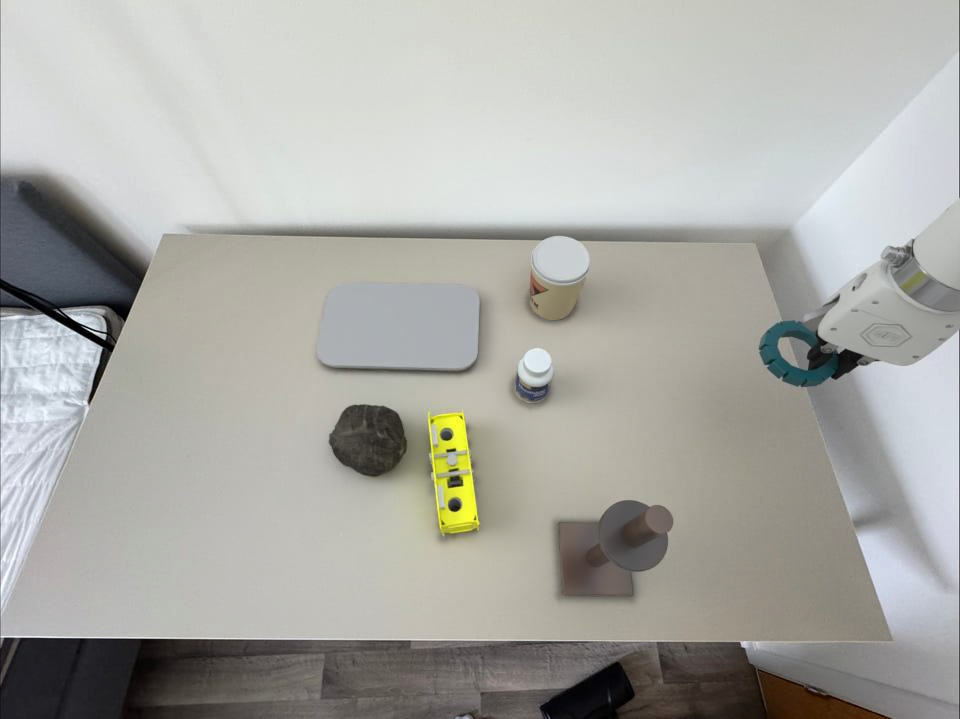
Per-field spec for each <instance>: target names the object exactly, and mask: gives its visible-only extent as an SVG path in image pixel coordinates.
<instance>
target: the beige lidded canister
mask: <svg viewBox="0 0 960 719" xmlns="http://www.w3.org/2000/svg"><path fill="white" fill-rule="evenodd" d="M591 268H592V258H591V255H590V253H589V250H588V248H586V246H585V245H584V244H583V243H581V242H580V241H579V240H577V239H576V238H573V237H570V236H565V235H554V236H550V237H547V238H545V239H543V240H542V241H540V242H539V243H538V244H537V245H535V247H534V248H533V250H532V252H531V255H530V281H529V282H530V283H529V305H530V307H531V309H532V311H533V312H534V314H536V315H537V316H538V317H539V318H542V319H544V320H548V321H558V320H562V319H564V318H566V317H568V316H569V315H570V314H571V313H572V311H573V309H574V307H575V305H576V303H577V301H578V298H579V296H580V293H581V292H582V289H583V286H584V284H585V282H586V278H587V276H588V275H589V273H590V271H591Z"/></svg>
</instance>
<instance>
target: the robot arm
mask: <svg viewBox="0 0 960 719" xmlns="http://www.w3.org/2000/svg"><path fill="white" fill-rule="evenodd" d="M801 322H802V325H803V326H804V327H805V328H807V329H808V330H810V331H811V332H814V333H815V334H816V338H817V340H818V343H817V344H815V345H814V346H813V347H812V348H811V347H810V348H809V350H808V351H807V353H806V354H807V355H806V360H807V361H808V366H807V370H815V369H817V368H819V367H821V366H822V365H824V364H825V363H826V362H827V361H829V360H830V359H831V358H832V357H833V351H834V350H835V349H836V350H838V348H843V349H842V350H841V351H840V352H838V355H836V356H839V359H838V368H837V370H835V371H836V372H835V373H834V374H833V375H832V376H830V377H829V378H830V379H832V380H834V381H837V380H838V379H840V378H841V377H843V376H844V375H846V374H849V373H851V372H852V371H853V370H855V369H856V368H857V367H859V366H860V367H861V366H862V367H867V366H869V365H871V364H872V363H873V362H883V363H888V364H889V365H893V366H900V367H908V366H911V365H914V364H916V363H918V362H919V361H921V360H923V359H924V358H926V357H927V356H928V355H930V354H931V353H933V352H934V351H936V350H937V349H938V348H940V347H941V346H942V345H943V344H944V343H946V342H947V341H948V340H949V339H951V338H952V337H953V336H954V335H955V334H957V332H959V331H960V197H959V198H958V199H956V200H955V201H954V202H953V203H952V204H950V206H948V208H947V209H945V210H944V211H943V212H942V213H941V214H940V215H939V216H937V218H935V219H934V220H933V221H932V222H931V223H930V224H929V225H928V226H927V227H926V228H924V230H922V231H921V232H920V233H919V234H918V235H917V236H916V237H915V238H910V239H909V240H908V241H907V243H905V244H904V245H903V246H896V247H895V246H892V245H886V246H885V247H884V249H883V250H882V252H881V254H880V260H878V261H876V262H875V263H873V264H871V265H870V266H869V267H867V268H865V269H864V270H862V271H861V272H859V273H858V274H856V276H854V277H852V278H851V279H850V280H849V281H847V282H846V283H845V284H844V285H842V287H839V289H837V291H835V292H834V293H833V294H832V295H831V296H829V298H827V300H826V301H825V302H824V303H823V304H822V306H821V307H820V308H817V309H815V310H811V311H809V312H806V313H805V314H803V316H802V321H801Z"/></svg>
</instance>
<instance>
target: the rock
mask: <svg viewBox="0 0 960 719" xmlns="http://www.w3.org/2000/svg"><path fill="white" fill-rule="evenodd" d="M405 433H406V432H405V428H404V424H403V420H402V419H401V417H400V415H399V413H398V412H397V411H395V410H394V409H392V408H390V407H388V406H385V405H372V404H371V405H370V404H367V403H365V404H361V403H360V404H351V405H349V406H347V407H345V409H343V411H342V412H341V414H340V415H339V419H338V420H337V422H336V424H335V426H334V429H332V432H330V433H329V434H328V444H329V445H330V447H331V450H332V454H333V455H334V457H335V459H336V460H338V462H340V463H341V465H342V466H345V467H347V468H351V469H352V470H354V472H356V473H358V474H360V475H361V476H366V477H372V478H375V477H379V476H382V475H384V474H385V473H389V472H390V471H392V470H393V469H395V468H396V467H397V466H398V465H399V464H400V462H401V460H402V458H403V456H404V455H406V452H407V450H408V439H407V437H406V435H405Z"/></svg>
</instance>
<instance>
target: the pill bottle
mask: <svg viewBox="0 0 960 719" xmlns="http://www.w3.org/2000/svg"><path fill="white" fill-rule="evenodd" d="M552 361H553V360H552V356H551V354H550V353H549V351H547V350H545V349H544V348H541V347H535V348H531V349H529V350H528V351H526V353H525V354H524V356H523V357H521V359H520V360H519V362H518V365H517V370H516V376H515V381H514V391H515V393H516V394H515V395H516V396H517V397H518V398H519V399H520V400H521V401H523V402H525V403H528V404H538V403H541V402H542V401H544V400H545V398H546V397H547V396H548V393H549V391H550V388H551V385H552V381H553V378H554V374H555V366H554V363H553V362H552Z"/></svg>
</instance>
